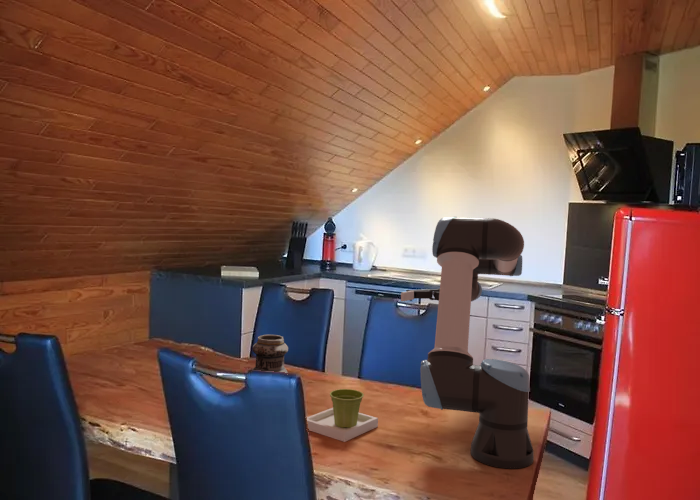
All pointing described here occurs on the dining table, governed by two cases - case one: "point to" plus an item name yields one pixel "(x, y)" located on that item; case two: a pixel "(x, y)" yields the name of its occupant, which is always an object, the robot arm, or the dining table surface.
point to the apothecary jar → (270, 353)
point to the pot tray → (327, 427)
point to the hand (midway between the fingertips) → (420, 299)
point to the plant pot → (346, 406)
